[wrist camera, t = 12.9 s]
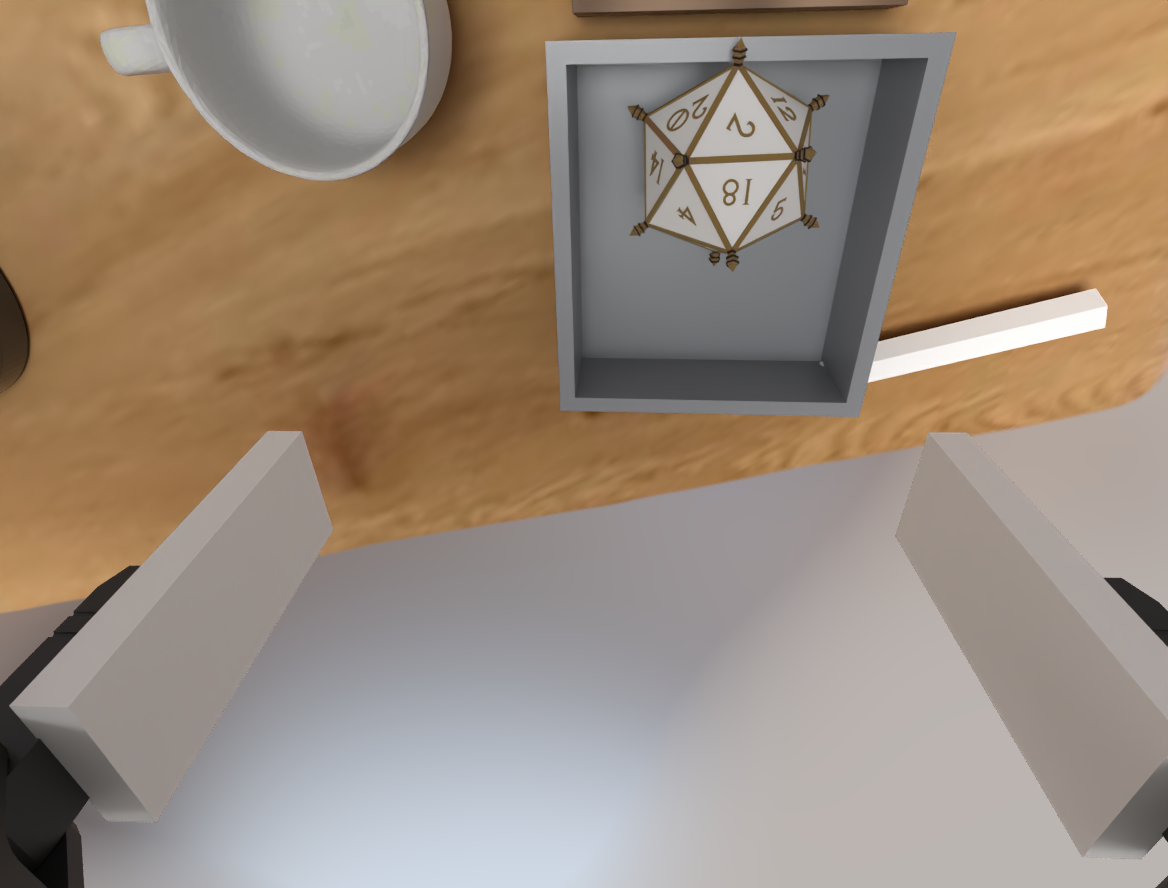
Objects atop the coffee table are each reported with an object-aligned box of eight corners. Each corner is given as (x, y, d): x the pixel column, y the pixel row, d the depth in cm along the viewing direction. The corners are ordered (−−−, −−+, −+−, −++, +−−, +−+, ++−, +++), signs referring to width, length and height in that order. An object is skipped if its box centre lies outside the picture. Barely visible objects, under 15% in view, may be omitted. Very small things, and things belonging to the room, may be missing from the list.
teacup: (471, -102, 27) (414, -158, 20) (474, 168, 32) (431, 195, 26) (158, -131, 27) (-4, -197, 20) (216, 141, 33) (106, 162, 26)
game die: (681, 263, 34) (580, 277, 27) (683, 93, 32) (571, 52, 24) (850, 261, 30) (786, 277, 22) (869, 59, 27) (804, -5, 19)
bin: (570, 364, 38) (560, 410, 33) (561, 45, 29) (545, 41, 24) (828, 368, 37) (858, 417, 32) (898, 37, 28) (956, 32, 23)
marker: (781, 366, 38) (1076, 294, 34) (788, 400, 38) (1085, 331, 34) (784, 363, 35) (1105, 285, 31) (793, 400, 35) (1114, 325, 31)
